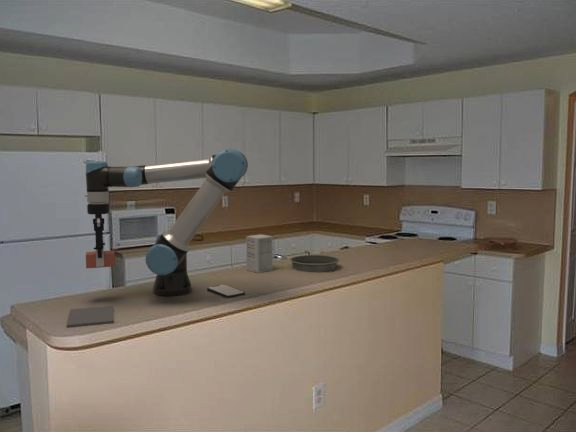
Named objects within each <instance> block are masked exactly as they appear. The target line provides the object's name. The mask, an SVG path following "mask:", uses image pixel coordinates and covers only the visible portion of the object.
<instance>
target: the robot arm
mask: <svg viewBox="0 0 576 432" xmlns="http://www.w3.org/2000/svg"><path fill="white" fill-rule="evenodd" d="M248 164H249V163H248V160H247V157H246V156H245V154H243V152H240V151H238V150H237V149H235V148H224V149H223V150H220V151H219V152H217V154H212V155H211V156H210V157H207V158H197V159H187V160H180V161H172V162H163V163H162V162H161V163H153V164H141V165H133V166H111V165H108V162H107V161H106V160H105V161H104V160H102V161H100V160H98V161H96V160H91V161H86V164H85V181H86V183H85V184H86V194H84V197H86V201H87V203H88V204H87V205H86V208H87V209H86V211H87V212H86V213H87V214H88V215H94V217H95V218H93V219H92V224H93V231H94V235H95V247H93V250H95V251H96V267H100V268H104V267H103V266H104V251H105V248H104V247H105V246H106V242H104V233H103V231H105V227H104V226H105V218H103V215H107V214H109V213H110V205H109V202H110V197H109V195H110V191H109V188H138V187H140V186H143V185H152V184H160V183H170V182H171V183H172V182H178V181H179V182H181V181H189V180H198V179H205V180H204V181H203V183H202V184H201V186H200V187H199V188H198V190H197V191H196V193H195V194H194V195H193V196H192V198H191V199H190V201H189V202H188V204H187V205H186V207H185V208H184V209H183V210H182V212H181V213H180V215H179V217H178V218H177V219H176V221H175V222H174V223H173V225H172V226H171V228H170V229H169V230H168V231H163V232H162V233H161V234H159V235H157V236H156V240H155V243H154V244H153V245H152V246H151V247H150V248H149V249H148V250H147V251H146V254H145V264H146V266H147V268H148V270H149V271H151V272H152V273H153V274H155V276H156V277H155V279H154V283H153V286H152V294H154V295H157V296H163V297H164V296H165V297H173V296H176V297H177V296H183V295H186V294H189V293H191V292H192V283H191V280H190V277H189V275H188V269H187V268H188V267H187V265H188V263H187V261H188V260H187V257H188V252H189V250H190V249H189V248H190V246H189V243H190V242H191V241H192V240H193V238H194V237H195V236H196V234H197V233H198V232H199V229H201V228H202V226H203V225H204V223H205V221H206V220H207V219H208V217H209V216H210V215H211V213H212V212H213V211H214V209H215V208H216V207H217V205H218V203H219V202H220V201H221V200H222V198H223V197H224V195H225V194H226V193H230V192H231V193H232V191H233V190H234V189H235V187H236V186H237V185H238V183H239V182H240V180H241V179H242V178H243V176H245V175H246V174H247V172H248V167H249V165H248Z"/></svg>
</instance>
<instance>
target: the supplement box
mask: <svg viewBox="0 0 576 432" xmlns="http://www.w3.org/2000/svg"><path fill="white" fill-rule="evenodd" d="M245 240H246V250H245V251H246V271H249V272H253V273H256V274H261V273H266V272H270V271H273V266H274V265H273V236H271V235H266V234H262V233H261V234H255V235H254V234H253V235H247V236H246V237H245Z"/></svg>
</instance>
